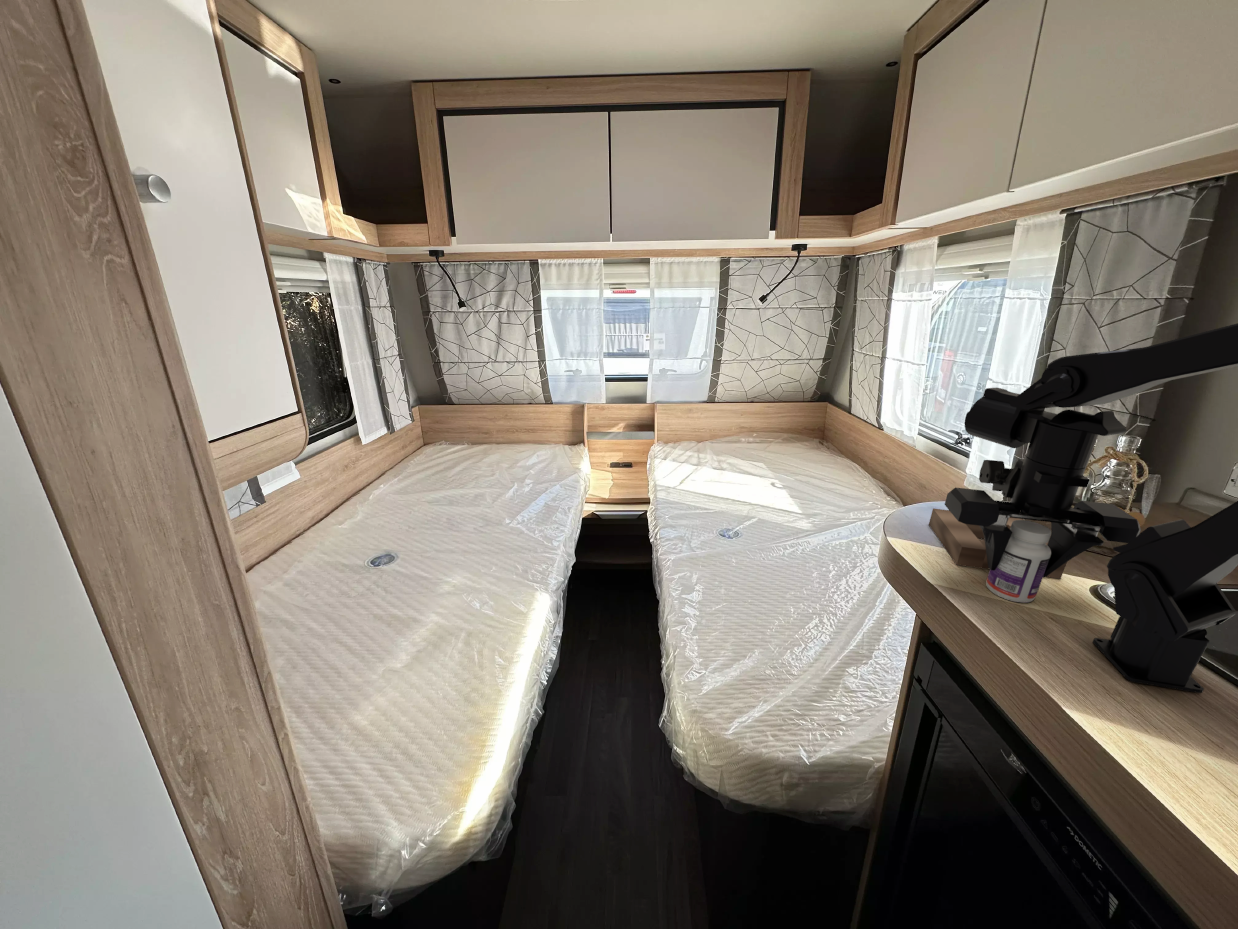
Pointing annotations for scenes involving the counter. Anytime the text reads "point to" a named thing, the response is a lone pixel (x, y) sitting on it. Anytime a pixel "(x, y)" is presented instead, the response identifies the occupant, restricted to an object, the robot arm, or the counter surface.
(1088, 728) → the counter surface
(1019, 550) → the pill bottle
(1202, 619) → the robot arm
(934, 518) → the walnut holder
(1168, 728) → the counter surface
